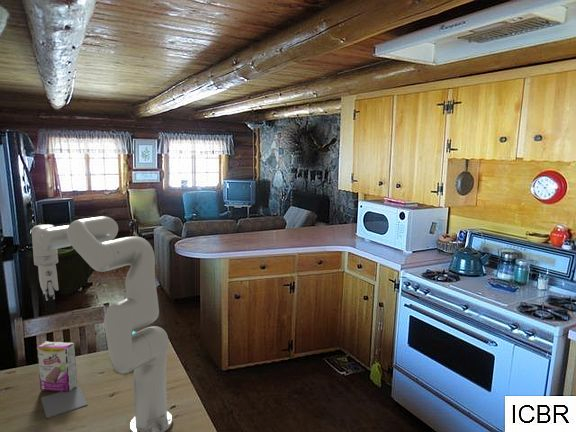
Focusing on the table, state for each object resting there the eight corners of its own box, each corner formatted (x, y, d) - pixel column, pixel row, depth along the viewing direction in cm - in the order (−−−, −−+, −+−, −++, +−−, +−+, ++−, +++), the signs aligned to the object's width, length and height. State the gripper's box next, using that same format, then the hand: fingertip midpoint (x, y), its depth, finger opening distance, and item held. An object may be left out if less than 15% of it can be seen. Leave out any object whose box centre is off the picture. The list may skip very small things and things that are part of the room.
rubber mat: (87, 405, 139) (87, 404, 139) (46, 418, 132) (46, 417, 132) (79, 387, 150) (79, 386, 149) (40, 398, 142) (40, 397, 142)
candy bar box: (39, 391, 146) (35, 346, 144) (49, 383, 151) (45, 340, 149) (69, 392, 145) (66, 348, 143) (78, 385, 150) (74, 341, 148)
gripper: (61, 263, 145) (65, 312, 147) (54, 252, 158) (57, 298, 161) (36, 266, 140) (40, 317, 143) (31, 255, 153) (34, 302, 156)
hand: (49, 306), depth 152 cm, fingers open, 5 cm apart
